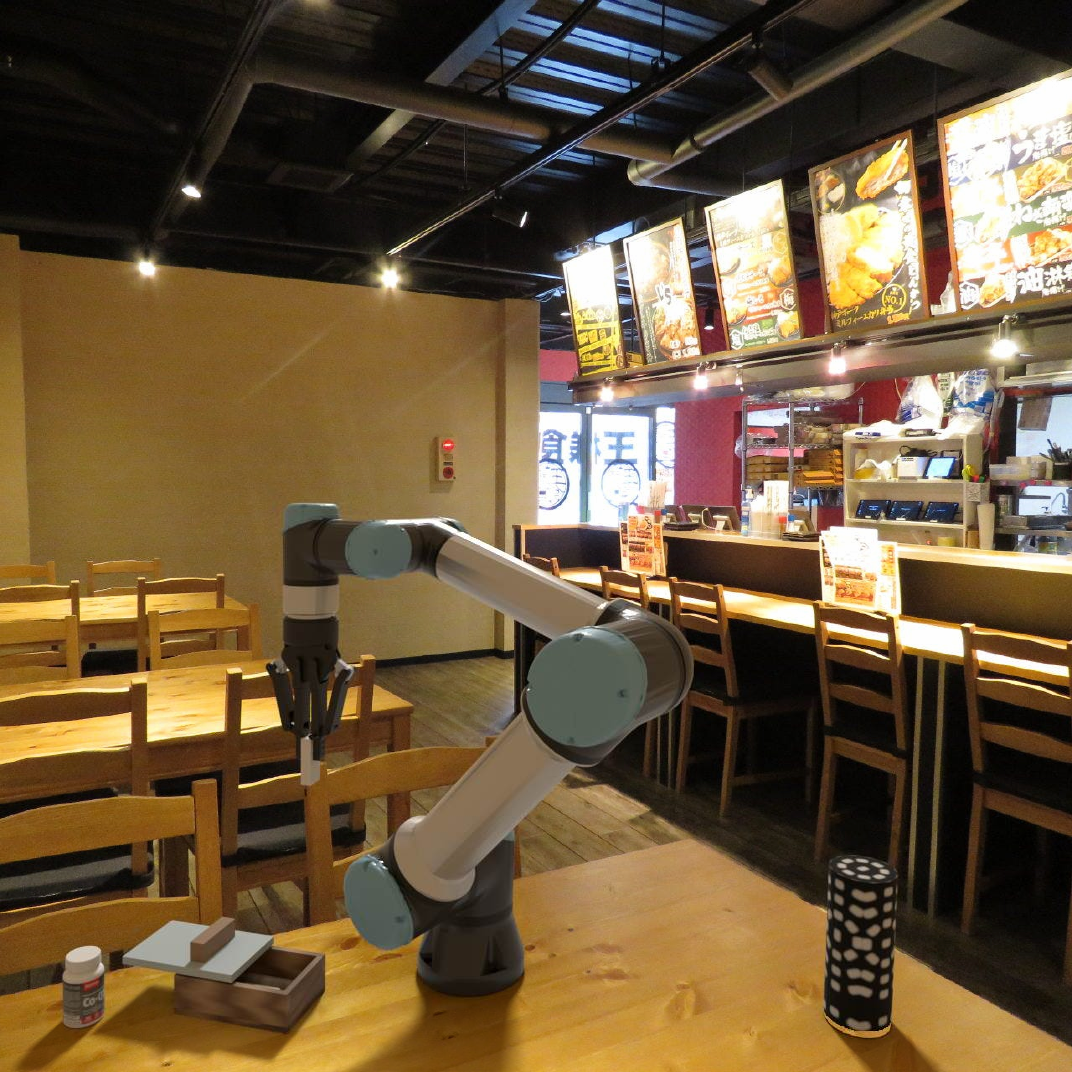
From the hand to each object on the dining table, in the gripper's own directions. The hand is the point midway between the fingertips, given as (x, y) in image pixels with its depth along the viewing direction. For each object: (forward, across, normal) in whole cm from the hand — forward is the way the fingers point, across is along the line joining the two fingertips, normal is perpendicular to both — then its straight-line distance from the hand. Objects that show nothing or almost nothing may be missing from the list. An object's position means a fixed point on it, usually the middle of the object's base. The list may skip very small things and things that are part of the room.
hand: (310, 781), depth 124 cm
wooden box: (+26, +3, +10) cm, 28 cm away
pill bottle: (+27, +21, +19) cm, 39 cm away
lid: (+21, +11, +10) cm, 26 cm away
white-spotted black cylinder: (+27, -74, -8) cm, 79 cm away
